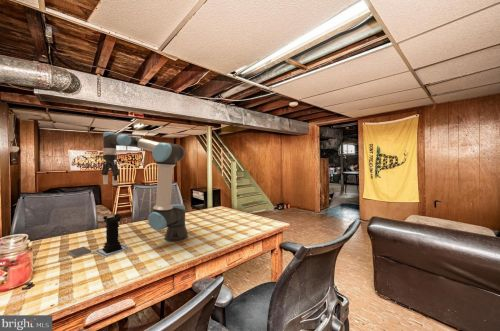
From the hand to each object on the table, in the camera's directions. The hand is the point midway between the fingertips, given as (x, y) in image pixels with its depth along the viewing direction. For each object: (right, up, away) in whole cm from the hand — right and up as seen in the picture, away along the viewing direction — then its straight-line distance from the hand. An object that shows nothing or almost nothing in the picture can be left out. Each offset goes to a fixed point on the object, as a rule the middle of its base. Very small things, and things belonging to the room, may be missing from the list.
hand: (110, 184), depth 143 cm
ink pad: (-1, -37, -25) cm, 45 cm away
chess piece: (+16, -37, -21) cm, 45 cm away
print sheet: (+16, -37, -21) cm, 46 cm away
